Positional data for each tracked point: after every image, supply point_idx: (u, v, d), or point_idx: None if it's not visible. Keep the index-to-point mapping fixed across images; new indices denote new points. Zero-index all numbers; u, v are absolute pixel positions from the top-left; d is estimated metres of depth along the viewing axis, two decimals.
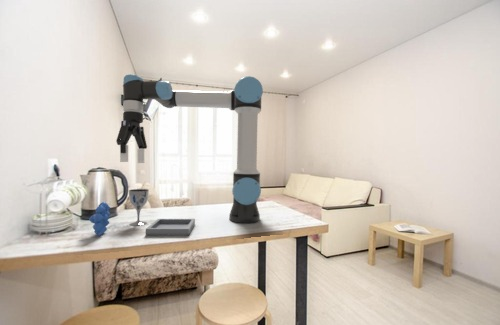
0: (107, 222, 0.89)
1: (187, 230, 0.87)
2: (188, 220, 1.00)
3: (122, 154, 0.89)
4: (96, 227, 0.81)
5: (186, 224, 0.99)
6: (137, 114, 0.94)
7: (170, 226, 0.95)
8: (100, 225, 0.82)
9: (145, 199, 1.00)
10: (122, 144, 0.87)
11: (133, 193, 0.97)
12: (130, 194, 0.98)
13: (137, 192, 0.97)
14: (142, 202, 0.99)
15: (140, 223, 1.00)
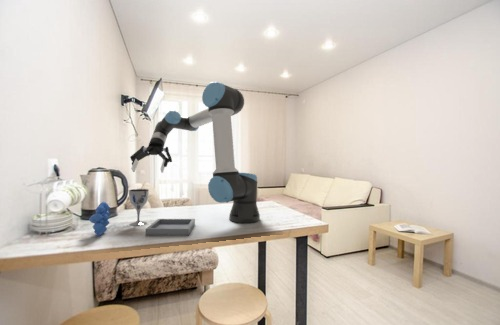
0: (107, 222, 0.89)
1: (187, 230, 0.87)
2: (188, 220, 1.00)
3: None
4: (96, 227, 0.81)
5: (186, 224, 0.99)
6: (151, 139, 1.23)
7: (170, 226, 0.95)
8: (100, 225, 0.82)
9: (145, 199, 1.00)
10: (133, 159, 1.15)
11: (133, 193, 0.97)
12: (130, 194, 0.98)
13: (137, 192, 0.97)
14: (142, 202, 0.99)
15: (140, 223, 1.00)
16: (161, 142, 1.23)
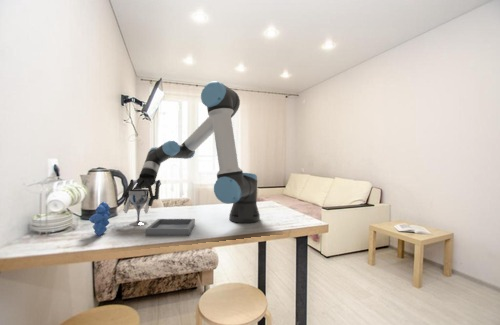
0: (107, 222, 0.89)
1: (187, 230, 0.87)
2: (188, 220, 1.00)
3: None
4: (96, 227, 0.81)
5: (186, 224, 0.99)
6: (142, 170, 1.10)
7: (170, 226, 0.95)
8: (100, 225, 0.82)
9: (145, 199, 1.00)
10: (125, 198, 1.01)
11: (133, 193, 0.97)
12: (130, 194, 0.98)
13: (137, 192, 0.97)
14: (142, 202, 0.99)
15: (140, 223, 1.00)
16: (153, 173, 1.10)
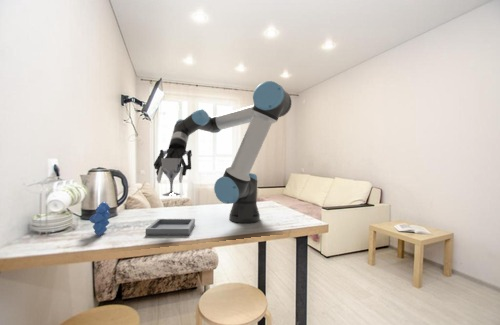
0: (107, 222, 0.89)
1: (187, 230, 0.87)
2: (188, 220, 1.00)
3: None
4: (96, 227, 0.81)
5: (186, 224, 0.99)
6: (172, 140, 1.03)
7: (170, 226, 0.95)
8: (100, 225, 0.82)
9: (179, 167, 0.93)
10: (157, 168, 0.94)
11: (167, 160, 0.90)
12: (163, 161, 0.90)
13: (171, 159, 0.90)
14: (176, 170, 0.92)
15: (174, 193, 0.93)
16: (183, 143, 1.03)
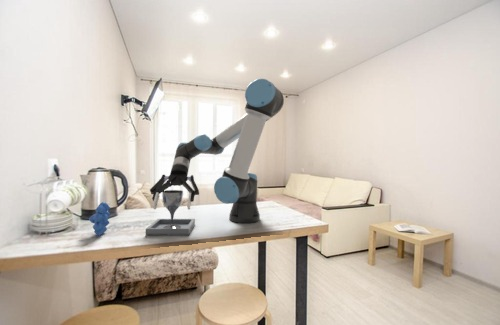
0: (107, 222, 0.89)
1: (187, 230, 0.87)
2: (188, 220, 1.00)
3: None
4: (96, 227, 0.81)
5: (186, 224, 0.99)
6: (174, 166, 1.03)
7: None
8: (100, 225, 0.82)
9: (180, 201, 0.92)
10: (153, 193, 0.95)
11: (168, 195, 0.89)
12: (164, 196, 0.90)
13: (172, 194, 0.90)
14: (177, 204, 0.91)
15: (174, 227, 0.92)
16: (185, 169, 1.03)
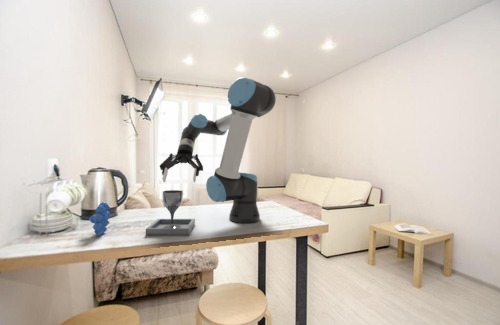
0: (107, 222, 0.89)
1: (187, 230, 0.87)
2: (188, 220, 1.00)
3: None
4: (96, 227, 0.81)
5: (186, 224, 0.99)
6: (180, 146, 1.15)
7: None
8: (100, 225, 0.82)
9: (180, 201, 0.93)
10: (162, 168, 1.07)
11: (168, 195, 0.90)
12: (164, 196, 0.90)
13: (172, 194, 0.90)
14: (177, 204, 0.92)
15: (174, 227, 0.92)
16: (190, 149, 1.16)
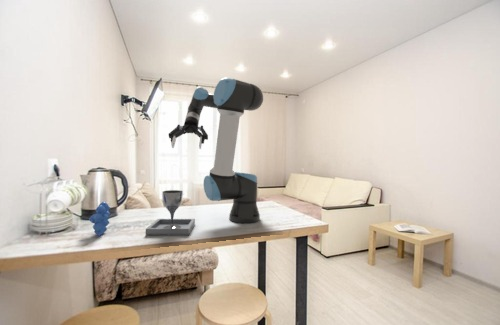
0: (107, 222, 0.89)
1: (187, 230, 0.87)
2: (188, 220, 1.00)
3: None
4: (96, 227, 0.81)
5: (186, 224, 0.99)
6: (187, 118, 1.26)
7: None
8: (100, 225, 0.82)
9: (180, 201, 0.92)
10: (171, 137, 1.18)
11: (168, 195, 0.90)
12: (164, 196, 0.90)
13: (172, 194, 0.90)
14: (177, 204, 0.92)
15: (174, 227, 0.92)
16: (196, 121, 1.26)
